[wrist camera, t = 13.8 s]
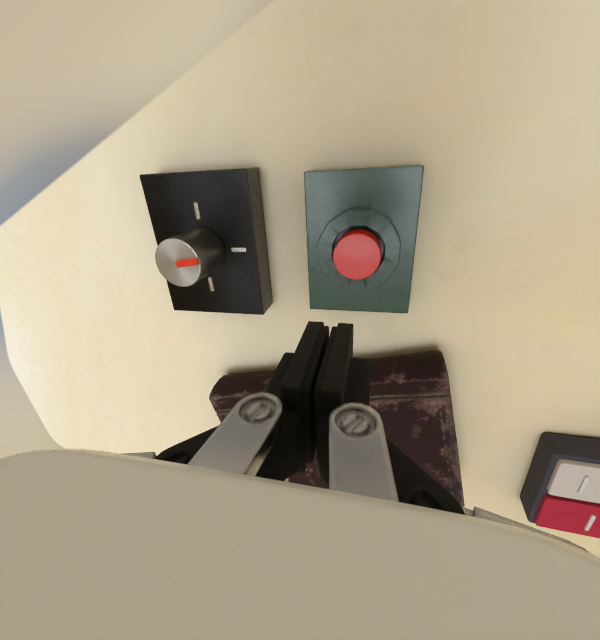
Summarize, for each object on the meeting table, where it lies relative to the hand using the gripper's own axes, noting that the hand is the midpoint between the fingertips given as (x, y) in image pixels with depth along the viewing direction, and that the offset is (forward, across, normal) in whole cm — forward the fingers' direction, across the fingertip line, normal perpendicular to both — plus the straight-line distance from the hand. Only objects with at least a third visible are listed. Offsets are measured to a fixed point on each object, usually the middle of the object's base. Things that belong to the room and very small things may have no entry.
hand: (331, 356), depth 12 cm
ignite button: (+15, 0, 0) cm, 15 cm away
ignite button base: (+19, 0, 0) cm, 19 cm away
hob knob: (+16, +14, 0) cm, 21 cm away
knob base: (+19, +14, 0) cm, 24 cm away
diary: (+19, +2, +22) cm, 29 cm away
